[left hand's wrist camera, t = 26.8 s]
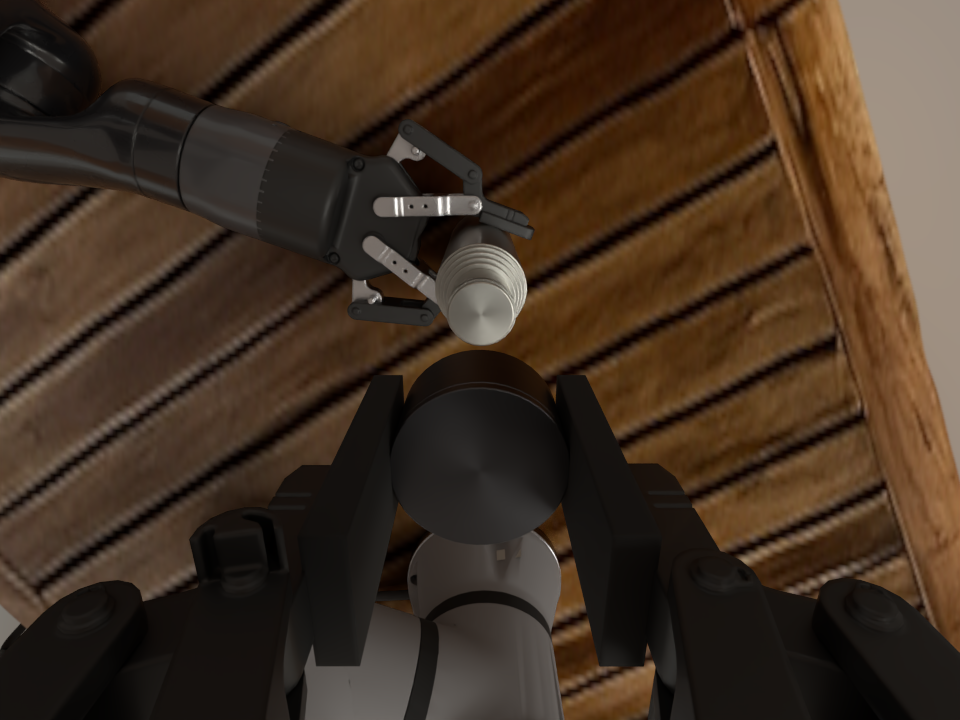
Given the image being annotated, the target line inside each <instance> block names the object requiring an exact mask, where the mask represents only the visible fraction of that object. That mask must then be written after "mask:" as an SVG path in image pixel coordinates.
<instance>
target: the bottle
mask: <svg viewBox="0 0 960 720" xmlns="http://www.w3.org/2000/svg"><path fill="white" fill-rule="evenodd" d="M526 294H527V283H526V277H525V274H524V271H523V269H522V266H521V263H520V261H519V258H518V255H517V252H516V250H515V247H514V244H513V242H512V239H511V236H510V234H509V232H506V231H504V230H501V229H498V228H496V227H493V226H490V225H487V224H484V223H482V222H479V218H478V217H475V216H472V215H467V216H466V217H464V218H463V219H461V220H460V221H459V222H458V223H457V225H456V226H455V228H454V229H453V232H452V234H451V237H450V240H449V243H448V246H447V249H446V251H445V254H444V257H443V260H442V263H441V265H440V268H439V271H438V274H437V277H436V282H435V295H436V300H437V303H438V306H439V308H440V310H441V311H442V313H443V315H444V316H445V317H446V318H447V320H448V323H449V325H450V328H451V329H452V330H453V332H454V333H455V335H457V336H458V337H459V338H460V339H461V340H463V341H465V342H466V343H469V344H472V345H477V346H485V345H490V344H493V343H497V342H498V341H500V340H501V339H503V338H504V337H505V336H506V335H507V334H508V333H509V332H510V331H511V329H512V327H513V325H514V323H515V318H516V317H517V316H518V314H519V313H520V311H521V310H522V308H523V305H524V303H525V299H526Z"/></svg>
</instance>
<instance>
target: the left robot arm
mask: <svg viewBox="0 0 960 720" xmlns="http://www.w3.org/2000/svg"><path fill="white" fill-rule="evenodd" d="M403 407H404V393H403V375H374V377H373V379H372V381H371V383H370V385H369V387H368V389H367V392H366V394H365V396H364V398H363V400H362V402H361V404H360V406H359V408H358V410H357V412H356V415H355V417H354V419H353V421H352V423H351V425H350V427H349V429H348V431H347V433H346V435H345V438H344V440H343V442H342V444H341V446H340V448H339V450H338V452H337V454H336V456H335V458H334V461H333V463H332V465H302V466H301V467H299V468H298V469H297V470H295V471H294V472H293V473H291V474H290V475H289V476H287V477H286V478H285V479H284V481H283V482H282V484H281V486H280V487H279V489H278V491H277V492H276V496H275V497H273V499H272V500H271V502H270V504H269V505H268V509H265V508H261V507H244V508H240V509H235V510H231V511H227V512H225V513H222V514H220V515H218V516H215V517H213V518H211V519H209V520H208V521H207V522H205V523H204V524H203V525H201V526H200V527H198V528H197V530H196V531H195V532H194V534H193V535H192V536H191V538H190V539H189V541H190V545H191V549H192V553H193V558H194V562H195V566H196V571H197V575H198V579H199V586H198V587H197V588H195V589H192V590H189V591H185V592H182V593H178V594H174V595H170V596H165V597H161V598H157V599H152V600H148V601H144V602H143V600H142V597H141V593H140V590H139V589H138V588H137V587H136V586H135V585H133V584H132V583H129V582H124V581H119V580H116V581H107V582H99V583H96V584H93V585H90V586H87V587H84V588H81V589H78V590H77V591H75V592H73V593H71V594H69V595H67V596H65V597H63V598H62V599H60V600H59V601H57V602H56V603H55V604H54V605H52V606H51V607H50V608H49V609H47V610H46V611H45V612H44V613H43V614H42V615H41V616H40V617H39V618H38V619H37V620H36V621H35V622H34V623H33V624H32V625H31V626H30V627H29V628H28V629H27V628H26V627H24V626H23V625H22V624H21V623H20V624H19V626H18V627H17V628H16V629H15V630H14V631H13V632H12V633H11V634H10V636H9V637H8V638H7V639H6V640H5V642H4V643H3V645H2V646H1V649H0V720H564V715H563V709H562V702H561V696H560V689H559V683H558V677H557V670H556V664H555V657H554V651H553V645H552V639H551V629H552V625H553V620H554V616H555V611H556V606H557V602H558V599H559V596H560V590H561V572H560V566H559V561H558V557H557V554H556V551H555V549H554V547H553V545H552V543H551V542H550V540H549V539H548V538H547V536H546V535H545V534H544V533H543V532H542V531H541V530H540V529H539V528H535V529H534V530H532V531H531V532H529V533H527V534H525V535H523V536H521V537H519V538H516V539H513V540H510V541H507V542H502V543H498V544H490V545H470V544H462V543H457V542H453V541H450V540H447V539H444V538H441V537H439V536H437V535H434V534H433V533H431V532H429V531H427V532H426V533H425V534H424V535H423V536H422V537H421V538H420V540H419V541H418V543H417V544H416V546H415V548H414V550H413V553H412V555H411V559H410V564H409V570H408V590H399V591H378V587H379V583H380V579H381V574H382V570H383V566H384V561H385V557H386V553H387V549H388V544H389V540H390V536H391V532H392V527H393V523H394V519H395V514H396V510H397V506H398V502H399V501H398V499H397V498H396V495H395V493H394V491H393V488H392V482H391V468H390V451H391V446H392V443H393V440H394V437H395V433H396V430H397V427H398V423H399V420H400V417H401V414H402V410H403ZM556 408H557V411H558V415H559V418H560V421H561V425H562V428H563V431H564V435H565V438H566V441H567V445H568V448H569V452H570V464H569V479H568V487H567V490H566V493H565V495H564V497H563V499H562V501H561V503H562V507H563V512H564V516H565V520H566V524H567V529H568V533H569V537H570V542H571V546H572V550H573V554H574V559H575V563H576V567H577V571H578V576H579V580H580V584H581V589H582V593H583V597H584V601H585V606H586V610H587V614H588V619H589V623H590V627H591V631H592V636H593V640H594V644H595V648H596V653H597V657H598V661H599V666H644V661H645V654H646V647H647V643H648V646H649V649H650V652H651V655H652V658H653V660H654V663H655V666H656V669H655V676H654V682H653V689H652V695H651V701H650V708H649V715H648V720H960V653H959V652H958V651H957V650H956V649H955V648H954V647H953V646H952V645H951V644H950V643H949V642H948V641H947V640H946V639H945V638H944V637H943V636H942V635H941V634H940V633H939V632H938V631H937V630H936V629H935V628H934V627H933V626H932V625H931V624H930V623H929V622H928V621H927V620H926V619H925V618H924V617H923V616H922V615H921V614H920V613H919V612H918V611H917V610H916V609H915V608H914V607H912V606H911V605H910V604H909V603H907V602H906V601H905V600H904V599H902V598H901V597H899V596H898V595H896V594H894V593H892V592H890V591H888V590H886V589H884V588H883V587H881V586H878V585H874V584H871V583H868V582H865V581H862V580H856V579H847V578H839V579H834V580H829V581H827V582H826V583H825V584H824V585H823V586H822V587H821V588H820V591H819V595H818V599H813V598H809V597H804V596H800V595H796V594H791V593H787V592H783V591H779V590H775V589H772V588H769V587H765V586H763V585H761V582H760V581H759V579H758V577H757V576H756V574H755V573H754V571H753V570H752V569H751V568H749V567H748V566H747V565H746V564H744V563H743V562H742V561H741V560H739V559H737V558H735V557H733V556H731V555H729V554H727V553H725V552H721V551H720V550H719V548H718V547H717V545H716V543H715V542H714V540H713V538H712V537H711V535H710V533H709V532H708V530H707V529H706V527H705V525H704V524H703V522H702V520H701V519H700V517H699V515H698V514H697V512H696V510H695V509H694V508H692V504H691V502H690V500H689V499H688V497H687V496H686V495H685V494H684V491H683V489H682V487H681V486H680V484H679V482H678V481H677V479H676V477H675V476H673V475H672V474H671V473H669V472H668V471H667V470H665V469H664V468H663V467H661V466H660V465H659V464H628V463H627V461H626V459H625V457H624V455H623V453H622V451H621V449H620V447H619V445H618V442H617V440H616V438H615V436H614V434H613V432H612V430H611V428H610V426H609V424H608V422H607V419H606V417H605V415H604V413H603V411H602V409H601V407H600V405H599V403H598V401H597V399H596V396H595V394H594V392H593V390H592V388H591V386H590V384H589V382H588V380H587V378H586V376H585V375H557V386H556ZM377 591H378V592H377ZM391 600H410V601H411V605H412V609H413V613H414V615H412V614H409V613H406V612H403V611H399V610H396V609H393V608H390V607H387V606H384V605H381V604H378V603H375V601H391ZM26 629H27V630H26ZM25 630H26V631H25ZM24 631H25V632H24ZM23 632H24V633H23ZM22 633H23V634H22ZM21 634H22V635H21Z"/></svg>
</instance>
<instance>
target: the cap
mask: <svg viewBox="0 0 960 720" xmlns="http://www.w3.org/2000/svg"><path fill="white" fill-rule="evenodd" d="M569 464H570V452H569V448H568V445H567V441H566V438H565V435H564V431H563V428H562V425H561V421H560V418H559V415H558V411H557V408H556V405H555V401H554V398H553V396H552V393H551V391H550V389H549V387H548V386H547V384H546V383H545V381H544V380H543V379H542V378H541V376H540V375H539V374H538V373H537V372H536V371H535V370H534V369H532V368H531V367H530V366H529V365H527V364H526V363H524V362H523V361H521V360H519V359H517V358H515V357H513V356H510V355H507V354H504V353H500V352H496V351H489V350H470V351H464V352H459V353H456V354H452V355H450V356H447V357H445V358H443V359H441V360H439V361H437V362H436V363H434V364H433V365H431V366H430V367H429V368H427V369H426V370H425V371H424V372H423V373H422V374H421V375H420V376H419V377H418V379H417V380H416V381H415V383H414V384H413V385H412V387H411V389H410V391H409V393H408V395H407V398H406V401H405V404H404V407H403V410H402V414H401V417H400V420H399V423H398V427H397V430H396V433H395V437H394V440H393V443H392V446H391V451H390V468H391V482H392V488H393V491H394V493H395V495H396V498H397V499H398V501H399V503H400V505H401V506H402V508H403V509H404V510H405V511H406V513H407V514H408V515H409V516H410V517H411V518H412V519H413V520H414V521H415V522H416V523H417V524H419V525H420V526H421V527H423V528H424V529H426V530H427V531H429V532H431V533H433V534H434V535H437V536H439V537H441V538H444V539H447V540H450V541H453V542H457V543H462V544H470V545H490V544H498V543H502V542H507V541H510V540H513V539H516V538H519V537H521V536H523V535H525V534H527V533H529V532H531V531H532V530H534V529H535V528H537V527H539V526H540V525H541V524H542V523H543V522H545V521H546V520H547V519H548V518H549V517H550V516H551V515H552V514H553V512H554V511H555V510H556V508H557V507H558V506H559V504H560V503H561V501H562V499H563V497H564V495H565V493H566V490H567V487H568V479H569Z"/></svg>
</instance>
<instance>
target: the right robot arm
mask: <svg viewBox="0 0 960 720" xmlns="http://www.w3.org/2000/svg"><path fill="white" fill-rule="evenodd" d="M100 87H101V74H100V69H99V65H98V61H97V59H96V56H95V54H94V52H93V50H92V49H91V47H90V46H89V45H88V43H87V42H86V41H85V40H84V39H83V38H82V37H81V36H80V35H79V34H78V33H77V32H76V31H75V30H74V29H73V28H71V27H70V26H69V25H68V24H66V23H65V22H64V21H63V20H61V19H60V18H59V17H57V16H56V15H55V14H54V13H52V12H51V11H50V10H49V9H47V8H46V7H45V6H44V5H43V4H41V3H40V2H39V1H38V0H0V177H3V178H7V179H12V180H17V181H24V182H31V183H41V184H55V185H73V186H85V187H94V188H103V189H112V190H120V191H126V192H131V193H136V194H139V195H142V196H145V197H148V198H151V199H154V200H157V201H160V202H163V203H166V204H169V205H172V206H175V207H177V208H180V209H183V210H186V211H189V212H192V213H194V214H197V215H199V216H201V217H204V218H206V219H208V220H210V221H212V222H214V223H216V224H218V225H220V226H222V227H225V228H227V229H230V230H232V231H235V232H238V233H241V234H244V235H247V236H250V237H252V238H255V239H258V240H261V241H264V242H267V243H270V244H273V245H276V246H279V247H282V248H285V249H288V250H290V251H293V252H296V253H299V254H302V255H305V256H308V257H311V258H314V259H317V260H320V261H323V262H325V263H329V264H332V265H335V266H337V267H338V268H340V269H341V270H343V271H344V272H345V273H346V274H347V275H348V276H349V277H350V278H351V279H353V286H352V303H351V304H350V305H349V307H348V314H349V316H350V317H351V318H353V319H356V320H366V321H376V322H387V323H397V324H407V325H418V326H428V325H430V324H431V323H432V322H433V320H434V318H435V317H436V316H437V315H438V313H439V312H440V311H441V310H440V308H439V306H438V303H437V300H436V295H435V282H436V277H437V273H436V272H435V271H433V270H432V269H431V268H430V266H429V265H428V264H427V263H426V262H424V261H423V260H422V259H421V258H420V257H418V253H419V249H420V246H421V234H422V232H423V230H424V229H425V227H426V226H427V224H428V221H429V218H430V216H445V215H472V216H475V217H478V218H479V222H482V223H484V224H487V225H490V226H493V227H496V228H498V229H501V230H504V231H506V232H509V233H512V234H515V235H517V236H520V237H523V238H526V239H529V240H531V238H532V236H533V233H534V228H533V227H531V226H529V225H527V224H528V221H529V219H528V217H527V216H525V215H524V214H523V213H522V212H520V211H518V210H515V209H512V208H509V207H507V206H504V205H501V204H499V203H496V202H493V201H490V200H488V199H487V198H486V197H485V196H484V195H483V193H482V170H481V168H480V167H479V166H478V165H477V164H475V163H474V162H472V161H471V160H470V159H468V158H467V157H465V156H464V155H462V154H461V153H459V152H458V151H457V150H455V149H454V148H452V147H451V146H449V145H448V144H447V143H445V142H444V141H442V140H441V139H439V138H438V137H437V136H435V135H434V134H432V133H431V132H429V131H428V130H426V129H425V128H424V127H422V126H421V125H419V124H418V123H416V122H414V121H412V120H409V119H406V120H403V121H402V122H401V123H400V125H399V128H398V130H399V134H398V136H397V138H396V139H395V141H394V143H393V145H392V147H391V148H390V150H389V152H388V154H387V155H380V156H374V157H372V156H367V155H363V154H361V153H358V152H355V151H352V150H350V149H347V148H344V147H342V146H339V145H336V144H333V143H331V142H328V141H325V140H323V139H320V138H317V137H314V136H312V135H309V134H306V133H304V132H301V131H298V130H295V129H293V128H291V127H290V126H288V125H286V124H284V123H282V122H279V121H271V120H268V119H266V118H263V117H260V116H257V115H254V114H251V113H247V112H242V111H238V110H233V109H229V108H225V107H222V106H219V105H216V104H213V103H210V102H208V101H205V100H202V99H200V98H197V97H194V96H192V95H189V94H186V93H183V92H181V91H178V90H175V89H173V88H170V87H167V86H164V85H161V84H158V83H156V82H153V81H149V80H145V79H139V78H133V79H125V80H122V81H120V82H118V83H116V84H115V85H113V86H112V87H110V88H109V89H108V90H107V91H105V92H104V93H103V94H102V95H101V96H100V97H99V98H98V99H97V97H98V94H99V91H100ZM96 99H97V100H96ZM426 155H428V156H429V157H431V158H432V159H434V160H435V161H436V162H438V163H439V164H441V165H442V166H444V167H445V168H447V169H448V170H450V171H451V172H452V173H454V174H455V175H457V176H458V177H460V178H461V179H463V193H421V191H420V190H419V189H418V187H417V186H416V184H415V183H414V181H413V180H412V179H411V177H410V176H409V174H408V173H407V171H406V170H405V168H404V167H403V166H402V164H401V162H402V161H403V160H404V159H407V158H409V159H412V160H414V161H420V160H423V159H424V158H425V157H426ZM405 269H406V270H407V271H405ZM392 272H393V273H395V274H396V275H397V276H398V277H400V278H401V279H402V280H403V281H405V282H406V283H407V284H409V285H410V286H411V287H413V288H416V289H418V290H419V291H420V292H422V293H423V294H424V295H426V296H427V298H426V300H415V299H405V298H394V297H384V294H383V292H382V290H381V289H379V288H376V287H373V286H372V285H371V284H370V283H369V279H372V278H375V277H379V276H382V275H386V274H389V273H392Z"/></svg>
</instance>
